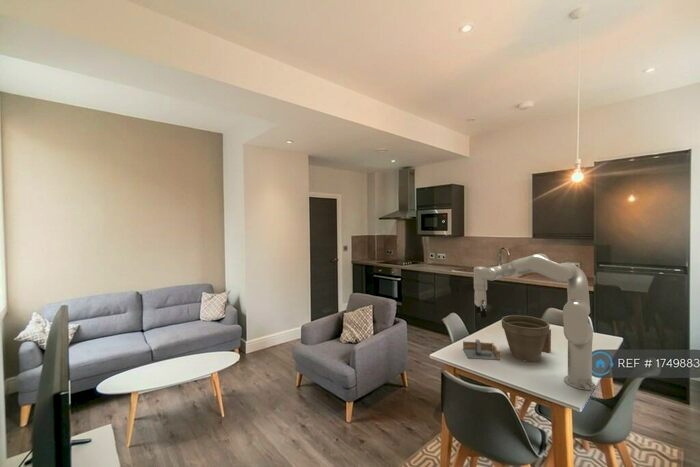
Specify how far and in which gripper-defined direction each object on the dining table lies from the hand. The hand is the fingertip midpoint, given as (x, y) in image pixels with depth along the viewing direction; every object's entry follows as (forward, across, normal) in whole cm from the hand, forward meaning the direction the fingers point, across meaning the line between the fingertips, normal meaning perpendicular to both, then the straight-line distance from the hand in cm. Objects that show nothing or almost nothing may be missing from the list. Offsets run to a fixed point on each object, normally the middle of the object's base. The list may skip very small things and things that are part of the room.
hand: (481, 315), depth 184 cm
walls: (+24, -1, 0) cm, 25 cm away
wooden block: (+25, -14, +39) cm, 48 cm away
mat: (+24, -1, 0) cm, 25 cm away
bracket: (+24, 0, +1) cm, 24 cm away
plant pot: (+25, -2, +25) cm, 35 cm away
